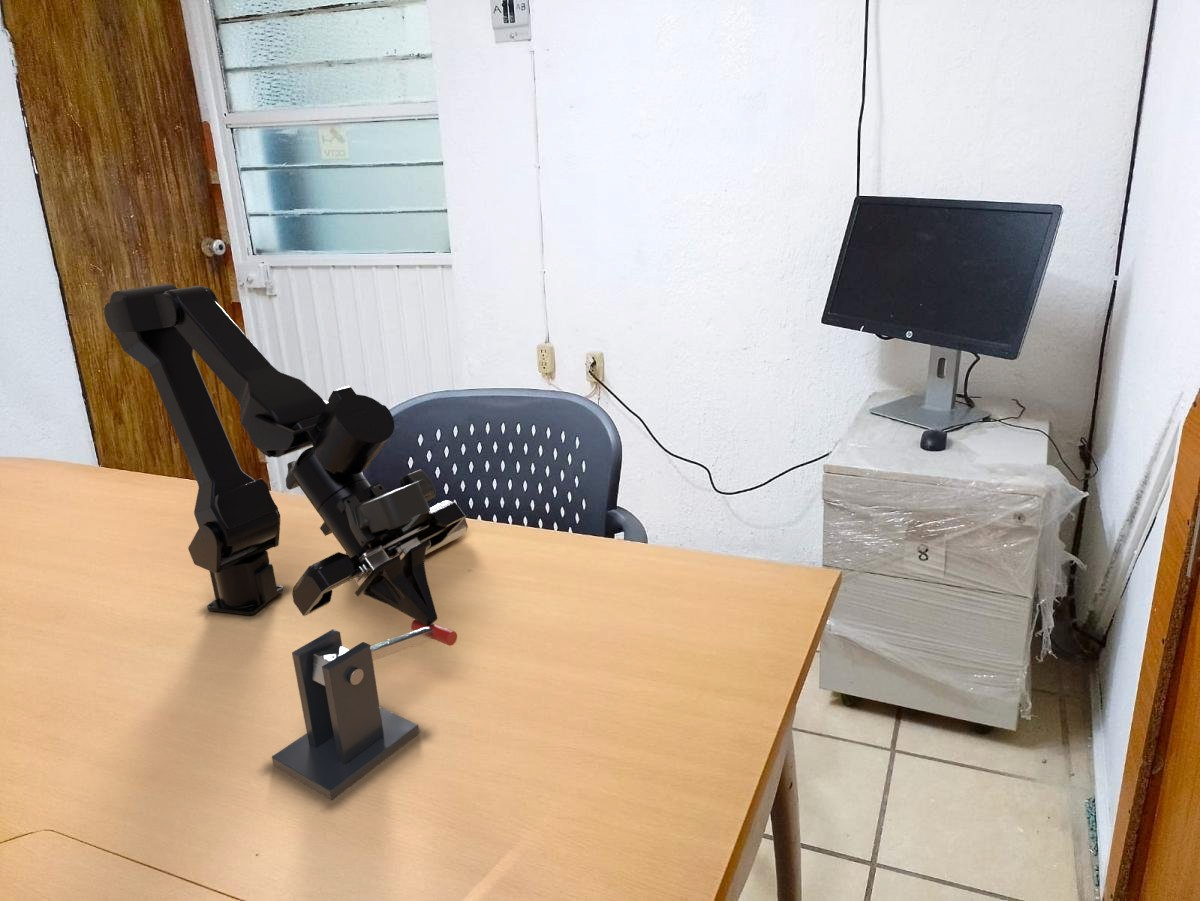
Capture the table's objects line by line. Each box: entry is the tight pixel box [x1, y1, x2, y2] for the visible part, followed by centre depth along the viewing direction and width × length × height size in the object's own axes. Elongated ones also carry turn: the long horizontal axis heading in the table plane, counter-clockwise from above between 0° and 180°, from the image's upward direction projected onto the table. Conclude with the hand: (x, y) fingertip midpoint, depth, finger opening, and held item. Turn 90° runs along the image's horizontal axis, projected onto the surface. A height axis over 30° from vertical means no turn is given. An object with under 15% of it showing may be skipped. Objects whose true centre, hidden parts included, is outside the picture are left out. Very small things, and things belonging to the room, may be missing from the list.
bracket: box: [271, 628, 420, 801], centre depth 73 cm, size 10×8×11 cm
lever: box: [312, 618, 458, 686], centre depth 77 cm, size 14×5×2 cm, turn 146°
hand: (432, 622), depth 81 cm, fingers closed
